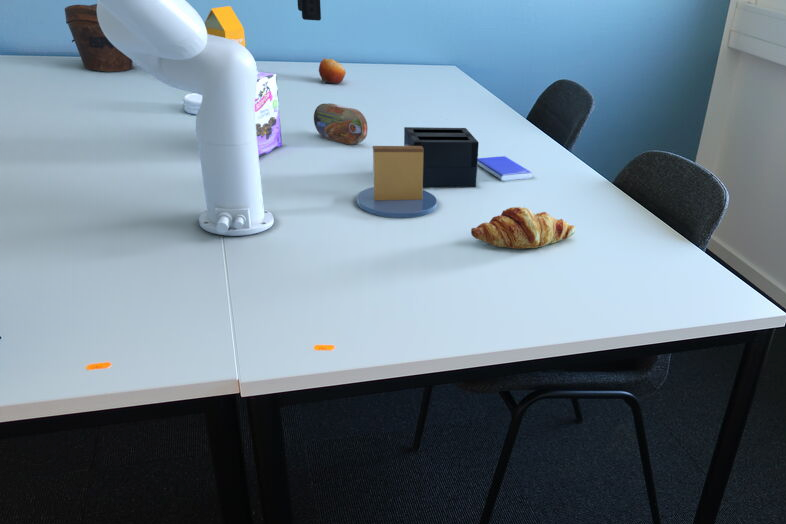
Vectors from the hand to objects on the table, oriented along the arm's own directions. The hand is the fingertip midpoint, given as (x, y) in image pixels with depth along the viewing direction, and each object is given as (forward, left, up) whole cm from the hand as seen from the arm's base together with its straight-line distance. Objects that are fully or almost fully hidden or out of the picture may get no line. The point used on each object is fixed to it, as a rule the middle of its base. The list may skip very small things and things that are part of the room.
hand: (309, 15), depth 137 cm
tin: (+36, -5, -34) cm, 49 cm away
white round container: (+58, +29, -34) cm, 73 cm away
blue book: (+16, -42, -34) cm, 56 cm away
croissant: (-26, -38, -34) cm, 57 cm away
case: (+102, +61, -34) cm, 123 cm away
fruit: (+98, -3, -34) cm, 104 cm away
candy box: (+25, +14, -34) cm, 44 cm away
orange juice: (+94, +27, -34) cm, 103 cm away
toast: (-6, -16, -32) cm, 36 cm away
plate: (-6, -16, -33) cm, 37 cm away
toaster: (+9, -26, -33) cm, 43 cm away
